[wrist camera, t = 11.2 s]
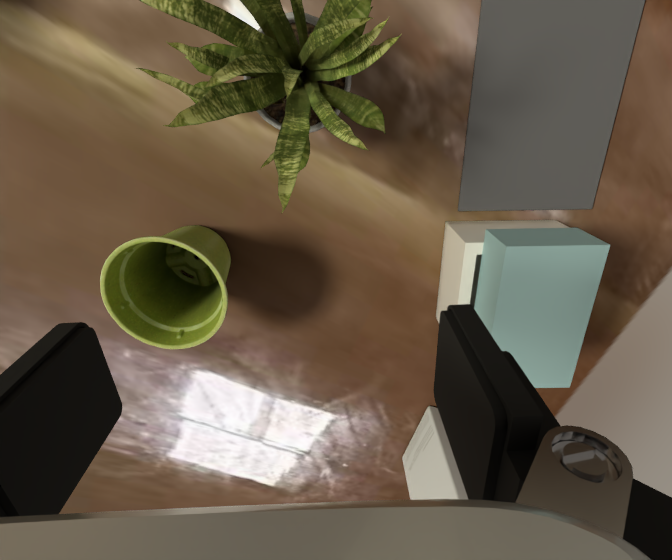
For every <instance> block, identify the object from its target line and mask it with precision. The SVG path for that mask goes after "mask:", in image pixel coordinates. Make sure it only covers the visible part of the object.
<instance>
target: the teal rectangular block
mask: <svg viewBox="0 0 672 560" xmlns="http://www.w3.org/2000/svg"><path fill="white" fill-rule="evenodd" d="M609 248H610V244H608V243H606V242H604V241H602V240H600V239H598V238H596V237H594V236H592V235H590V234H588V233H586V232H585V231H583V230H581V229H579V228H523V229H486V230H485V237H484V244H483V251H482V258H481V265H480V272H479V278H478V285H477V292H476V299H475V306H474V309H475V311H476V312H477V314H478V316H479V317H480V319H481V320H482V322H483V323H484V325H485V326H486V328H487V329H488V331H489V332H490V334H491V335H492V337H493V339H494V340H495V342H496V343H497V345H498V346H499V348H500V349H501V351H507V352H510V354H511V355H512V356H513V357H514V359H515V360H516V361H517V363H518V364H519V366H520V367H521V369H522V370H523V372H524V373H525V375H526V376H527V378H528V379H529V381H530V382H531V383H532V385H533V386H534V388H562V387H570V385H571V381H572V378H573V374H574V371H575V367H576V364H577V360H578V357H579V353H580V350H581V346H582V343H583V339H584V336H585V332H586V329H587V325H588V322H589V318H590V315H591V311H592V308H593V304H594V301H595V297H596V294H597V290H598V287H599V283H600V280H601V276H602V273H603V269H604V266H605V262H606V259H607V255H608V252H609Z"/></svg>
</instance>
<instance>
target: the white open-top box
mask: <svg viewBox="0 0 672 560" xmlns="http://www.w3.org/2000/svg"><path fill="white" fill-rule="evenodd" d="M523 228H569V227H568V226H566V225H564V224H562V223H560V222H558V221H556V220H507V221H446V223H445V233H444V242H443V252H442V262H441V272H440V282H439V292H438V301H437V311H436V318H437V320H438V322H439V321H440V313H441V311H446V310H447V307H448V306H449V305H460V304H471V305H472V306H473V308H474V306H475V299H476V292H477V285H478V278H479V272H480V265H481V258H482V251H483V244H484V237H485V230H486V229H523Z"/></svg>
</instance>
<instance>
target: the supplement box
mask: <svg viewBox="0 0 672 560" xmlns="http://www.w3.org/2000/svg"><path fill="white" fill-rule="evenodd" d="M402 459H403V464H404V469H405V474H406V479H407V484H408V489H409V494H410V499H411V500H420V499H468V497H467V494H466V491H465V488H464V485H463V482H462V479H461V476H460V473H459V470H458V467H457V464H456V461H455V458H454V455H453V452H452V449H451V446H450V443H449V440H448V437H447V435H446V432H445V429H444V426H443V423H442V420H441V417H440V414H439V411H438V408H436V407H432V406H428V408H427V410H426V412H425V414H424V416H423V418H422V420H421V422H420V424H419V426H418V428H417V429H416V431H415V433H414V435H413V437H412V439H411V441H410V443H409V445H408V447H407V449H406V451H405V453H404V455H403V457H402Z"/></svg>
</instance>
